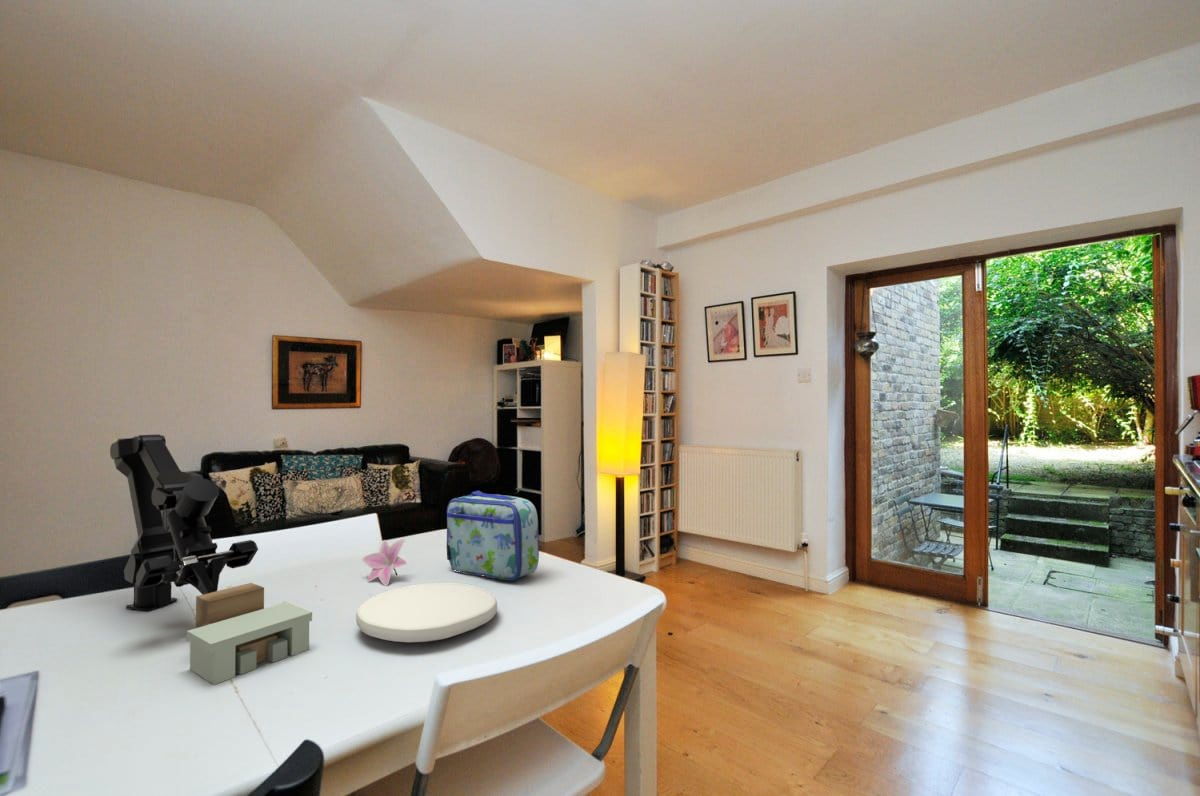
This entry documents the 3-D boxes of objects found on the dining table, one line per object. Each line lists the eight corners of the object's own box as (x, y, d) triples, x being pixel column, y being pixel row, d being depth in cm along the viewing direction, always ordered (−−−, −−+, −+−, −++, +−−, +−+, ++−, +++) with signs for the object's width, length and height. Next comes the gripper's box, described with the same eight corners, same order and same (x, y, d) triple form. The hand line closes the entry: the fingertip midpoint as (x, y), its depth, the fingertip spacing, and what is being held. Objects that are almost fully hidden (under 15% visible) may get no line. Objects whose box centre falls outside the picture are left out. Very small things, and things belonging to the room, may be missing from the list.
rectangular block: (195, 653, 97) (196, 596, 97) (250, 635, 104) (251, 582, 105) (229, 672, 90) (230, 611, 90) (285, 652, 97) (286, 595, 97)
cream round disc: (408, 574, 127) (516, 583, 122) (405, 603, 127) (515, 613, 121) (325, 604, 100) (460, 616, 95) (322, 641, 99) (458, 656, 94)
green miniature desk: (186, 670, 90) (186, 630, 91) (286, 636, 104) (286, 602, 104) (210, 685, 85) (210, 644, 86) (311, 648, 99) (312, 612, 99)
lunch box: (439, 570, 146) (440, 492, 146) (469, 561, 155) (469, 487, 155) (514, 588, 132) (515, 501, 132) (542, 576, 141) (542, 495, 141)
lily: (360, 579, 141) (350, 552, 137) (403, 554, 148) (394, 527, 144) (381, 605, 134) (370, 576, 129) (424, 577, 140) (415, 549, 136)
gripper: (228, 546, 120) (251, 608, 114) (119, 567, 105) (139, 639, 99) (246, 515, 116) (271, 577, 110) (135, 532, 100) (157, 605, 94)
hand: (213, 599), depth 103 cm, fingers closed
